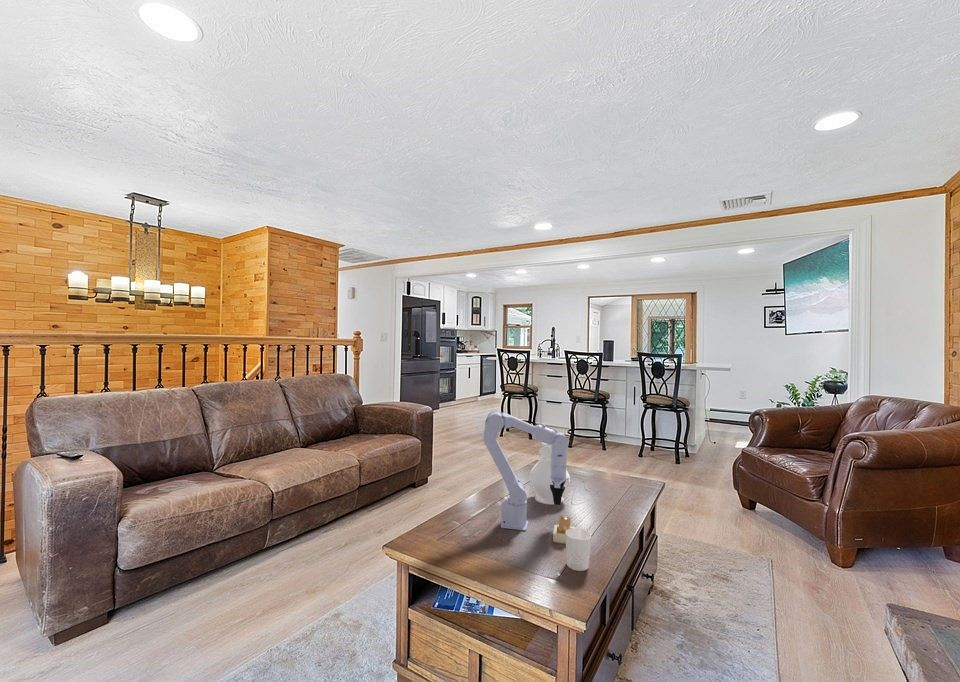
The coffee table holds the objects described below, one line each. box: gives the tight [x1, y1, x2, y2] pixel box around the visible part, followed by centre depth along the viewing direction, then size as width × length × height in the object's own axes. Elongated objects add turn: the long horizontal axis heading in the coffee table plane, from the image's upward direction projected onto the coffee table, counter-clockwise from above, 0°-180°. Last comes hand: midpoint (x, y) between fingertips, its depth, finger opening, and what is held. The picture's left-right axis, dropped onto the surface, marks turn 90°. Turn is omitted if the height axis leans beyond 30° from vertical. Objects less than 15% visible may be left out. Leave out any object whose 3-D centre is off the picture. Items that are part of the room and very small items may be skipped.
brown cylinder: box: [558, 515, 571, 534], centre depth 153 cm, size 4×4×7 cm
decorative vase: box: [528, 442, 571, 506], centre depth 190 cm, size 18×18×25 cm
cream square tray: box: [552, 524, 576, 545], centre depth 153 cm, size 8×8×3 cm
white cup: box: [565, 527, 592, 572], centre depth 135 cm, size 8×8×10 cm
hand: (557, 500), depth 162 cm, fingers open, 7 cm apart
